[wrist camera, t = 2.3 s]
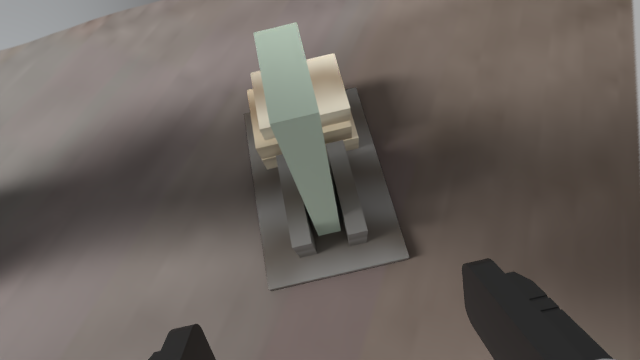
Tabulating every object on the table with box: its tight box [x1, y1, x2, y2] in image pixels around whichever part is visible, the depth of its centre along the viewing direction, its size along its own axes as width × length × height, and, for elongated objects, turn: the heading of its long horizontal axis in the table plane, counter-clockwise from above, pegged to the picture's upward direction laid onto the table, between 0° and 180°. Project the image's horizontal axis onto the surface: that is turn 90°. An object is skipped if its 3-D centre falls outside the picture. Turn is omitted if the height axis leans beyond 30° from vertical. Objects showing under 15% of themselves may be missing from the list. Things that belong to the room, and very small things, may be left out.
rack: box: [244, 53, 409, 291], centre depth 30 cm, size 18×12×7 cm, turn 12°
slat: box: [254, 22, 341, 236], centre depth 23 cm, size 5×2×18 cm, turn 12°
